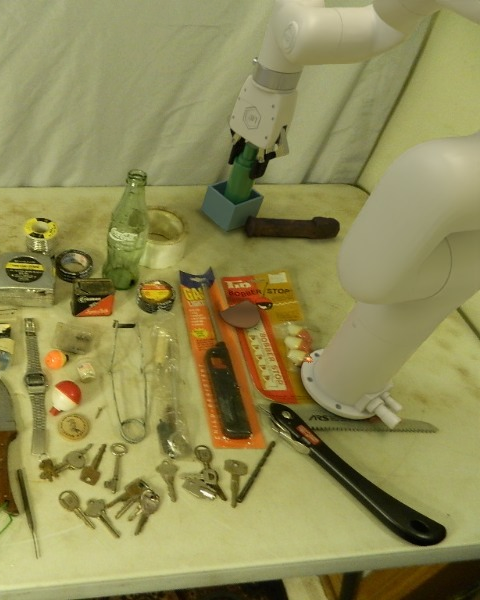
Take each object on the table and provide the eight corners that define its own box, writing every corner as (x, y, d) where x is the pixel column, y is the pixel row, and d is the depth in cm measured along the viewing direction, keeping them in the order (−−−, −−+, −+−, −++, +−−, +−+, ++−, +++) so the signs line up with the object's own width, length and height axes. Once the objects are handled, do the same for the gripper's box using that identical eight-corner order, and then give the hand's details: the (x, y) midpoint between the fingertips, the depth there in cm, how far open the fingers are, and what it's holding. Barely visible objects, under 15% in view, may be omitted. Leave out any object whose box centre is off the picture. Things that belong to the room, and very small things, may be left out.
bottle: (252, 204, 106) (272, 148, 97) (234, 211, 104) (253, 154, 95) (235, 191, 109) (253, 136, 100) (217, 197, 107) (234, 141, 98)
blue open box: (254, 222, 110) (264, 196, 105) (225, 233, 106) (235, 207, 102) (228, 201, 114) (237, 175, 109) (200, 211, 111) (207, 185, 106)
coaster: (267, 319, 91) (268, 318, 91) (237, 334, 88) (238, 332, 88) (239, 293, 95) (240, 292, 95) (210, 306, 92) (210, 305, 92)
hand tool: (246, 240, 106) (253, 221, 102) (242, 227, 108) (249, 209, 105) (338, 247, 106) (349, 229, 103) (332, 234, 109) (342, 216, 106)
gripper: (225, 59, 92) (201, 153, 105) (299, 100, 82) (263, 198, 95) (256, 53, 95) (228, 145, 108) (331, 92, 85) (291, 188, 98)
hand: (245, 169), depth 101 cm, fingers closed on bottle, 5 cm apart
